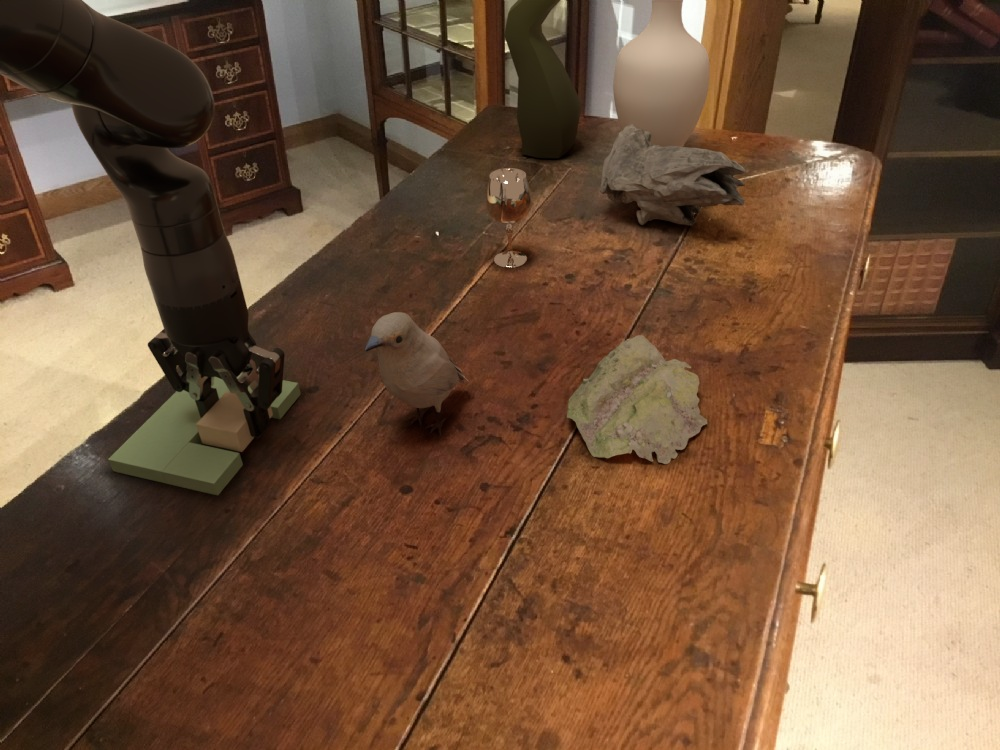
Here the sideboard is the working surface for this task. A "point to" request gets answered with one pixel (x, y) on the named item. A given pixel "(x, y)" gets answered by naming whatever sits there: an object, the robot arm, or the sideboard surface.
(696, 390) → the mossy green rock
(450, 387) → the bird
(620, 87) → the vase
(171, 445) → the green c-shaped block
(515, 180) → the wineglass
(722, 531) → the sideboard surface
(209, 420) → the cream pad
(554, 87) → the tentacle
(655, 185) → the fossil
